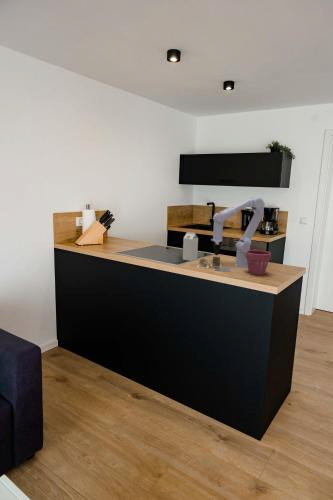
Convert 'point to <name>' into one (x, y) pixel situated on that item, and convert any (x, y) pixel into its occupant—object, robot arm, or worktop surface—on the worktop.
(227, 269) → the slate coaster
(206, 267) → the code tile
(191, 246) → the milk carton
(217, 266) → the code tile
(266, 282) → the worktop surface
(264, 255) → the plant pot
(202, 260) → the oak block
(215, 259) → the walnut block
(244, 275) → the worktop surface
